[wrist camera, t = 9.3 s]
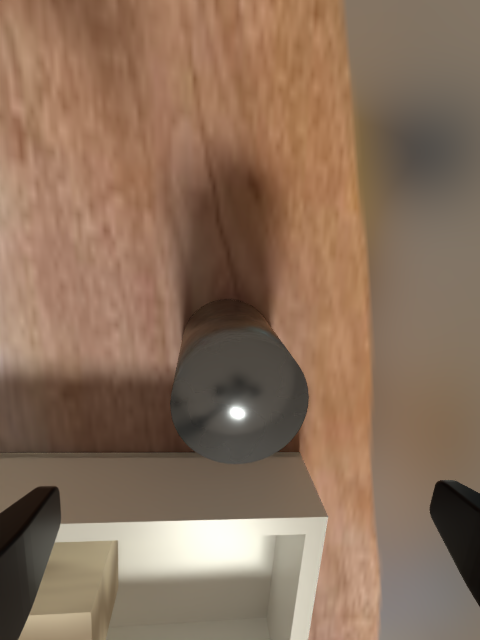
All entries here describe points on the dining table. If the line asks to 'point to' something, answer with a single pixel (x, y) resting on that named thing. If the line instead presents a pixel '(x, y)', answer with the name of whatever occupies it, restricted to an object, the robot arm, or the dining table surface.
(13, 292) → the dining table surface
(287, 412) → the metal cylinder
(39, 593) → the wood cube
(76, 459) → the tote
